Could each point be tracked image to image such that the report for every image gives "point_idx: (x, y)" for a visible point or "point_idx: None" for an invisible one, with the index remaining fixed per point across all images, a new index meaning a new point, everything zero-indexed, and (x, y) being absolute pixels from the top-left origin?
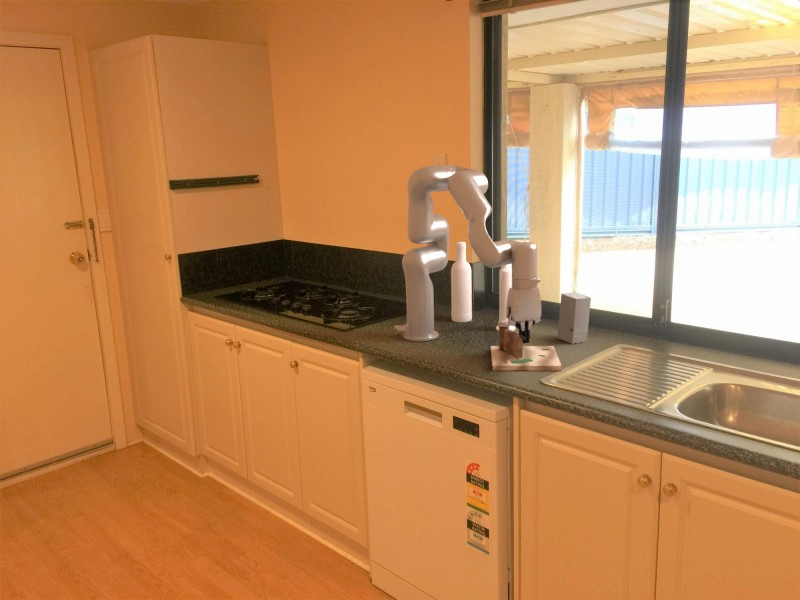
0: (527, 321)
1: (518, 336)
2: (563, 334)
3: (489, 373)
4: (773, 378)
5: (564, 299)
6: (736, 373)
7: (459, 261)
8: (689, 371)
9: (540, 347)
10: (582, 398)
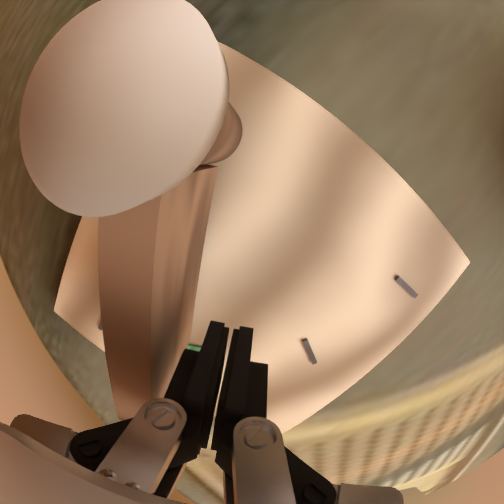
0: (270, 495)
1: (128, 415)
2: None
3: (51, 314)
4: (448, 480)
5: None
6: (452, 471)
7: None
8: (438, 465)
9: (422, 238)
10: (187, 484)
